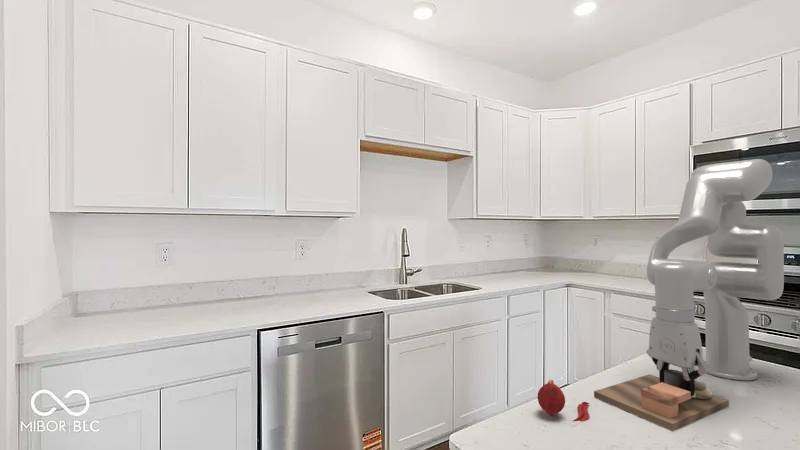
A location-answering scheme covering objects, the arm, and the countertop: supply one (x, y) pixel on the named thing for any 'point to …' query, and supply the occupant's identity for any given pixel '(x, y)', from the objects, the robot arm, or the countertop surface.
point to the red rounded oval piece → (551, 398)
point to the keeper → (664, 399)
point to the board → (630, 401)
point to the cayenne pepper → (582, 412)
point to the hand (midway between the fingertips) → (676, 390)
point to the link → (675, 380)
